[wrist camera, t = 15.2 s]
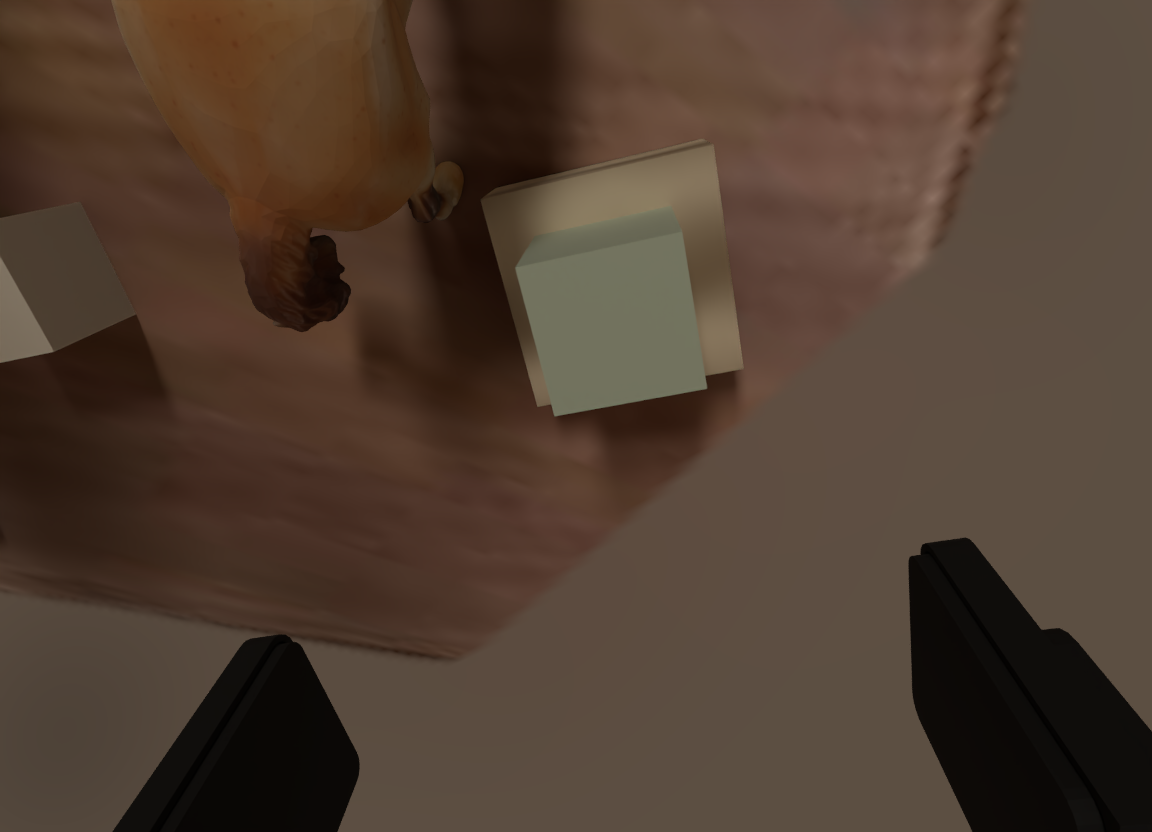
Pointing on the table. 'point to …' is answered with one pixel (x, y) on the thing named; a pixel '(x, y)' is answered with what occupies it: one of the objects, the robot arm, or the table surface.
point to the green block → (613, 312)
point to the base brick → (617, 192)
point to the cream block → (54, 282)
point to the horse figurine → (294, 129)
